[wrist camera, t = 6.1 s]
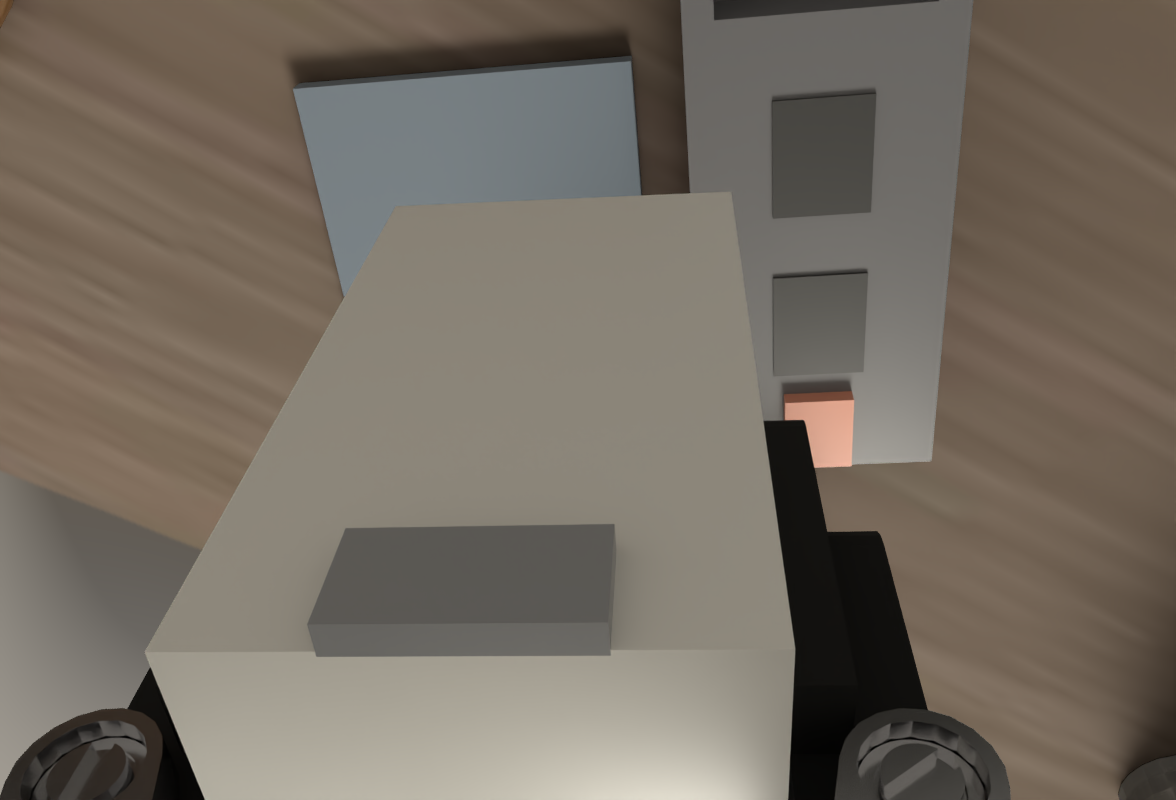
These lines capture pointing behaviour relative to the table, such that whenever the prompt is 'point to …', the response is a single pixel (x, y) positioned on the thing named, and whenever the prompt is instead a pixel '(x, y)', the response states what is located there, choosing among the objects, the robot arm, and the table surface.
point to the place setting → (4, 9)
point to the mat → (466, 142)
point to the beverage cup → (1151, 781)
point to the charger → (504, 529)
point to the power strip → (836, 202)
